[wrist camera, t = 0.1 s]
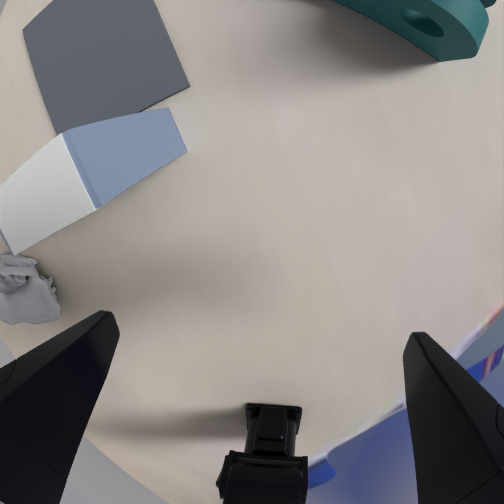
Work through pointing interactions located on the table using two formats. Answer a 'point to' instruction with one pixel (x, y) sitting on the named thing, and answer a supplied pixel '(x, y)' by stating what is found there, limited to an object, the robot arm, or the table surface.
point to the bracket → (431, 23)
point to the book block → (84, 173)
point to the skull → (25, 292)
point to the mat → (101, 59)
